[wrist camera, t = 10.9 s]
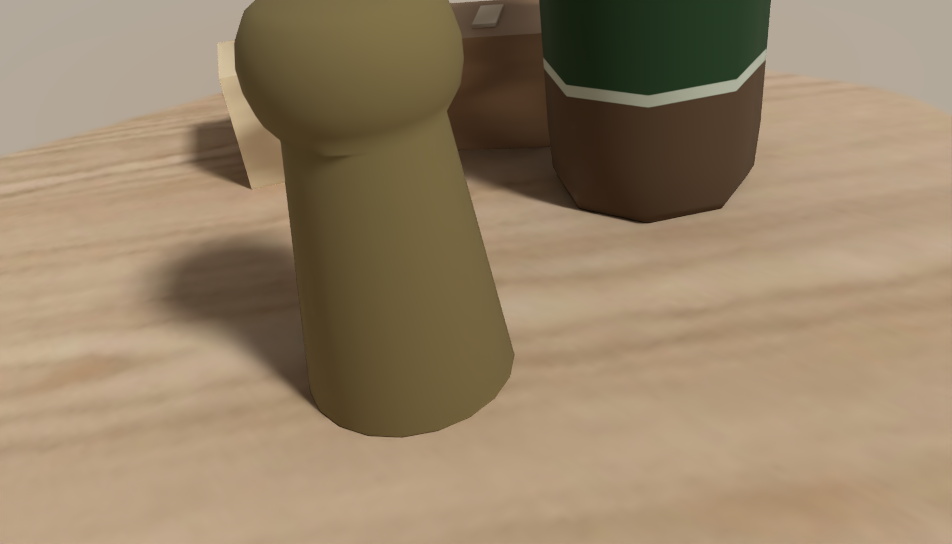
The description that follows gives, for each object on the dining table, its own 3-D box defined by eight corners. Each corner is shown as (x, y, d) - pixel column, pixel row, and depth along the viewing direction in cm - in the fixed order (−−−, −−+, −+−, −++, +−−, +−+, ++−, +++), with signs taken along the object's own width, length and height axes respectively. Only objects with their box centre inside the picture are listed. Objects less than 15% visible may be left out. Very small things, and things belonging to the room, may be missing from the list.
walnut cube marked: (432, 152, 36) (415, 37, 33) (452, 106, 40) (438, 1, 37) (549, 148, 35) (541, 29, 32) (558, 102, 39) (551, -8, 36)
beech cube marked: (248, 191, 35) (213, 76, 32) (244, 147, 39) (212, 40, 36) (367, 165, 36) (343, 50, 33) (350, 124, 40) (328, 18, 37)
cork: (297, 331, 26) (194, -25, 20) (479, 283, 27) (433, -68, 21) (325, 464, 21) (198, 44, 15) (545, 398, 22) (510, -17, 16)
